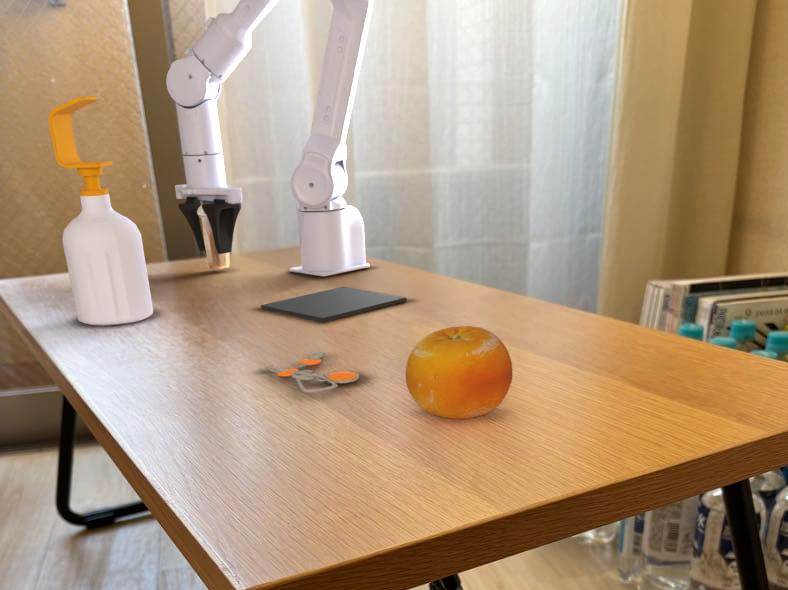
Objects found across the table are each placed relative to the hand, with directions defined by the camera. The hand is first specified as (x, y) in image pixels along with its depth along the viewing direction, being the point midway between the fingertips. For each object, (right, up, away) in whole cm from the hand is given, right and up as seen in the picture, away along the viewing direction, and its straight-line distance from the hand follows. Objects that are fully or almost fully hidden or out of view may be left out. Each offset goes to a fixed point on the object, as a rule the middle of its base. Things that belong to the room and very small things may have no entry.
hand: (215, 251), depth 136 cm
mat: (+20, -14, -23) cm, 33 cm away
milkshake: (0, -2, +1) cm, 3 cm away
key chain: (+20, -28, -51) cm, 61 cm away
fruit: (+33, -33, -61) cm, 77 cm away
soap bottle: (-7, -16, -25) cm, 31 cm away
